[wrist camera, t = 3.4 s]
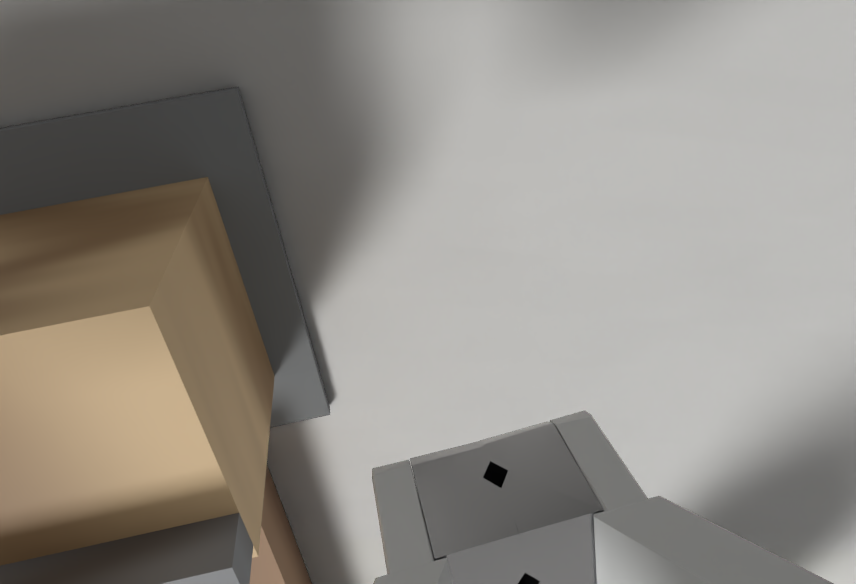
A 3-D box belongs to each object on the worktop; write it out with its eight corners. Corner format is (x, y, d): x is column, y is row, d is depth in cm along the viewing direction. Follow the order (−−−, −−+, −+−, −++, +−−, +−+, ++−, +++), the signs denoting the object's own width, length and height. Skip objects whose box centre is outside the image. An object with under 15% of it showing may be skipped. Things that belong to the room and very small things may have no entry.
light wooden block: (207, 177, 12) (129, 351, 7) (274, 376, 15) (252, 611, 9) (-110, 234, 12) (-446, 466, 7) (15, 430, 14) (-155, 707, 9)
